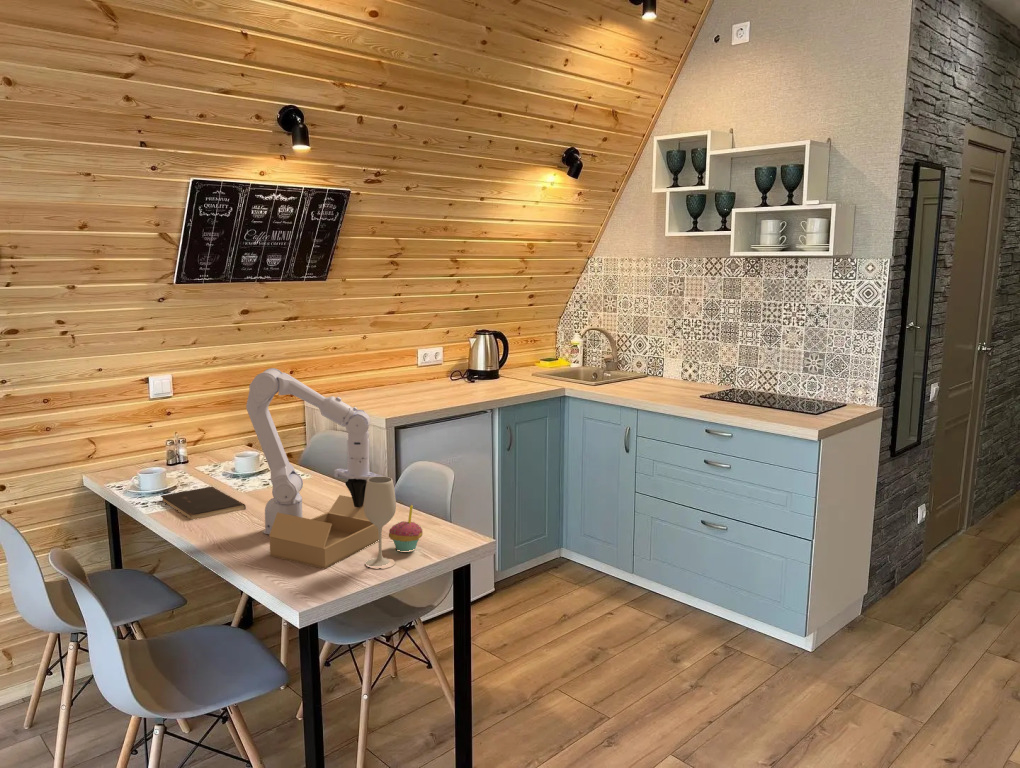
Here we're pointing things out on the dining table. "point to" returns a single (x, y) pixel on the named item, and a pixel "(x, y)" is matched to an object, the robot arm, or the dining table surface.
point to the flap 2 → (347, 508)
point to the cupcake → (405, 534)
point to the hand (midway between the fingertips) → (358, 506)
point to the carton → (329, 542)
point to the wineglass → (379, 509)
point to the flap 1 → (300, 530)
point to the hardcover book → (203, 502)
